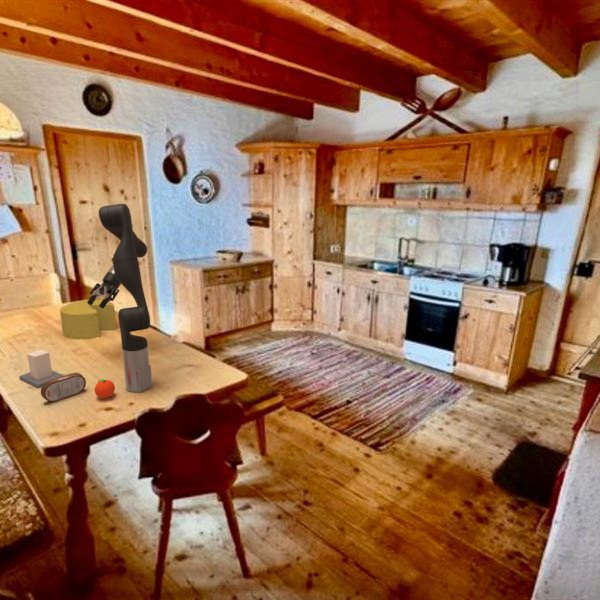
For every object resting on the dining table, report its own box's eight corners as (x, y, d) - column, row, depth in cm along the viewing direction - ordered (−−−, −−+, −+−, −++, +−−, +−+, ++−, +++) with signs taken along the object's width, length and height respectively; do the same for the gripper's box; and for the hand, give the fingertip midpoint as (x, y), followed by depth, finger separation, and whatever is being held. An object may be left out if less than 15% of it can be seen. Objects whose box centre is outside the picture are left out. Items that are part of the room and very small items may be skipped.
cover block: (52, 374, 162) (49, 352, 159) (38, 379, 157) (34, 357, 155) (45, 371, 165) (41, 349, 162) (30, 376, 160) (27, 353, 157)
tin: (84, 388, 155) (82, 369, 153) (88, 391, 153) (85, 371, 151) (41, 403, 144) (38, 382, 142) (45, 406, 142) (41, 385, 140)
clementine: (90, 397, 149) (88, 380, 147) (107, 390, 154) (105, 373, 152) (102, 403, 145) (100, 386, 143) (119, 396, 150) (117, 379, 148)
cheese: (118, 335, 212) (116, 308, 208) (62, 342, 200) (58, 314, 196) (114, 321, 234) (111, 297, 230) (63, 327, 221) (60, 301, 217)
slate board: (64, 378, 162) (63, 375, 162) (38, 388, 154) (38, 385, 153) (45, 370, 169) (44, 367, 168) (19, 379, 160) (19, 376, 160)
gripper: (100, 269, 179) (78, 298, 173) (120, 273, 173) (98, 304, 166) (111, 278, 185) (91, 307, 179) (131, 282, 178) (111, 312, 172)
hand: (94, 305), depth 172 cm, fingers open, 8 cm apart
